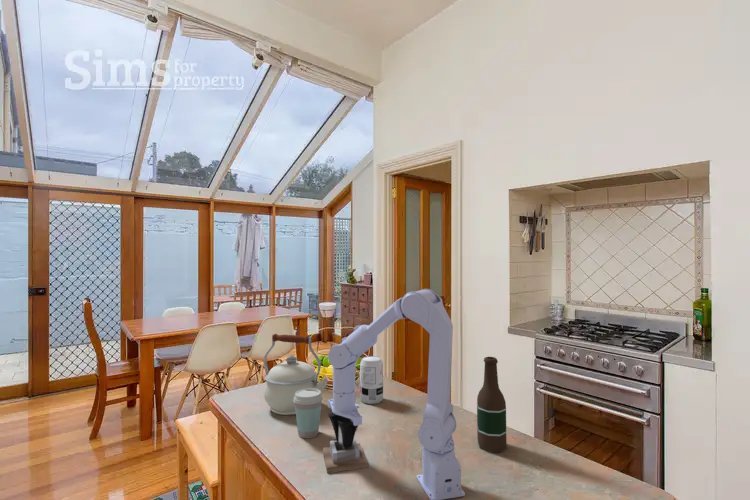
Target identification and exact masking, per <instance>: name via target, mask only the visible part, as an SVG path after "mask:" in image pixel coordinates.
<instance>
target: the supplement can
mask: <svg viewBox="0 0 750 500" xmlns="http://www.w3.org/2000/svg"><path fill="white" fill-rule="evenodd" d="M359 364H360V365H359V366H360V367H359V368H360V370H359V371H360V372H359V375H360V376H359V378H360V381H359V384H360V385H359V386H360V389H359V391H360V392H359V393H360V395H359V397H360V401H362V403H365V404H368V405H374V404H379V403H381V402H382V401H383V400H384V363H383V360H382V358H381V357H379V356H374V355H372V356H371V355H370V356H363V357H362V358H361V360H360V363H359Z"/></svg>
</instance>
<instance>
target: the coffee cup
mask: <svg viewBox="0 0 750 500" xmlns="http://www.w3.org/2000/svg"><path fill="white" fill-rule="evenodd" d="M323 400H324V397H323V394H322V392H321V391H320V390H318V389H313V388H308V389H302V390H299V391H297V392H296V393H295V396H294V400H293V401H294V402H295V410H296V414H295V417H296V426H297V435H298V437H300V438H303V439H311V438H315V437H316V436H318V435H319V431H320V430H319V429H320V420H321V419H320V418H321V410H322V401H323Z"/></svg>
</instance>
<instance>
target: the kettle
mask: <svg viewBox="0 0 750 500" xmlns="http://www.w3.org/2000/svg"><path fill="white" fill-rule="evenodd" d="M271 338H272V339H271V342H272V343H271V346H270V348H269V349H268V350H267V351H266V353H265V355H264V357H263V362H262V363H263V367H264V371H265V374H266V375H265V382H266V383H265V386H264V389H263V397H264V399H265V402H266V403H267V404H268V405H269V406H270V407H269V408H270V411H272V412H273V413H274V414H276V415H280V416H281V415H283V416H285V415H286V416H291V415H296V410H295V402H294V401H293V400H294V396H295V393H296V392H297V391H299V390H302V389H308V388H313V389H318V390H320V391H321V393H322V392H323V391H324V389H325V387H326V386H327V383H328V382H329V381H330V379H329V378H328V377H323V378H322V380H321V381H319V380H318V377H319V376H320V372H321V369H322V367H321V365H322V364H321V360H320V358H319V356H318V354H317V353H316V352H315V351H314V349H313V347H312V336H311V335H310V336H309V335H307V336H302V335H298V334H297V335H295V334H277V333H273V334H272V336H271ZM277 341H278V342H283V343H291V344H293V343H294V344H304V343H305V344H307V345H308V349H309V351H310V353H311V354H312V356H313V357H314V358H315V360H316V362H317V366H318V367H317V371H315V370H314V368H313V367H312V365H311V364H309V363H306V362H304V361H301V360H300V361H299V360H298V358H297V357H296V356H295V355H293V354H290V355H289V356H288V357H286V359H285V361H284V362H280V363H278V364H276V365H274V366H273V367H272V368H270V370H269V367H268V364H267V357H268V355H269V353H270V352H271V351H272V350H273V348H274V347H275V344H276V342H277Z"/></svg>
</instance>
